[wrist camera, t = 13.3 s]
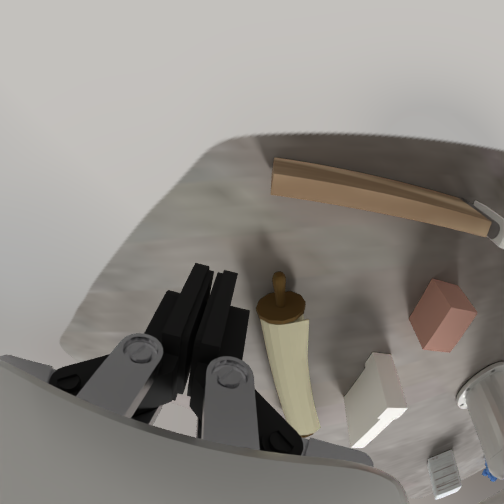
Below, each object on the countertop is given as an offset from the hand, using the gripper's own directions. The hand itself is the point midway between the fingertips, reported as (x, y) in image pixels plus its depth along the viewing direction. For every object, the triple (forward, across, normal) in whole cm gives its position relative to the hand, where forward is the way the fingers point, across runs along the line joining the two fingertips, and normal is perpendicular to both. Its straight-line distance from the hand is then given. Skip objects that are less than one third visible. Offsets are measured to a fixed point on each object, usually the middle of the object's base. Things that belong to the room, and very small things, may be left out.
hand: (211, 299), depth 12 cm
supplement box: (+19, -65, +56) cm, 88 cm away
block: (+18, -24, +8) cm, 31 cm away
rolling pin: (+18, -11, +22) cm, 30 cm away
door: (+17, -12, -3) cm, 21 cm away
